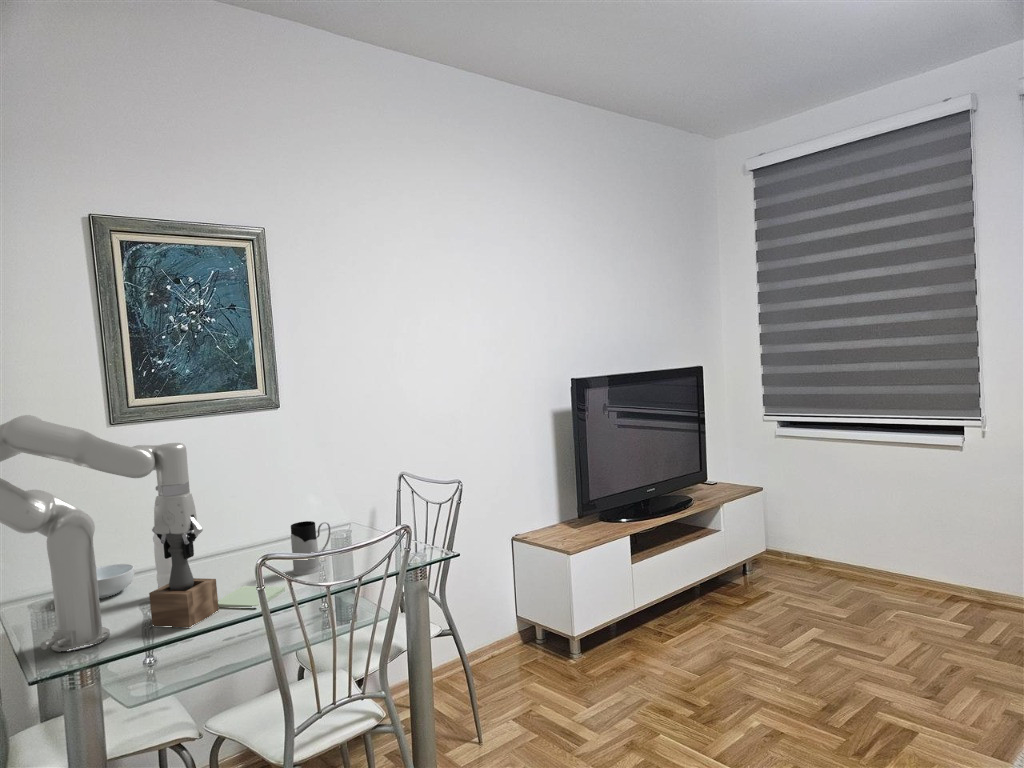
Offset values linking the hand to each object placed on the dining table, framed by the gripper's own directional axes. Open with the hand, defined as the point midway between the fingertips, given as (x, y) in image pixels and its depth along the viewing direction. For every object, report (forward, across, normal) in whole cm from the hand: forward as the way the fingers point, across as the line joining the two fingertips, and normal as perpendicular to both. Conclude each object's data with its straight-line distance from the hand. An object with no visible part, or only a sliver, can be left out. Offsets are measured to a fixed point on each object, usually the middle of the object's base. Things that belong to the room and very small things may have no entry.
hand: (179, 556), depth 186 cm
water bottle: (+17, -18, +16) cm, 30 cm away
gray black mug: (+17, +14, +42) cm, 48 cm away
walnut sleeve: (+17, 0, 0) cm, 17 cm away
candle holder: (+17, 0, 0) cm, 17 cm away
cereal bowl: (+17, -41, +15) cm, 47 cm away
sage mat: (+17, +9, +15) cm, 25 cm away
